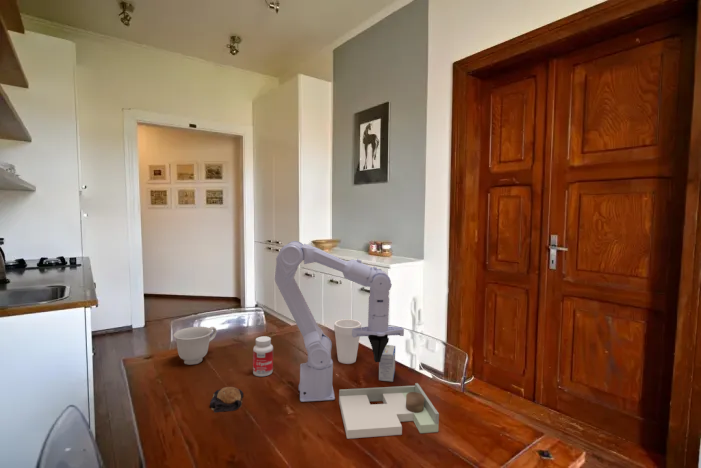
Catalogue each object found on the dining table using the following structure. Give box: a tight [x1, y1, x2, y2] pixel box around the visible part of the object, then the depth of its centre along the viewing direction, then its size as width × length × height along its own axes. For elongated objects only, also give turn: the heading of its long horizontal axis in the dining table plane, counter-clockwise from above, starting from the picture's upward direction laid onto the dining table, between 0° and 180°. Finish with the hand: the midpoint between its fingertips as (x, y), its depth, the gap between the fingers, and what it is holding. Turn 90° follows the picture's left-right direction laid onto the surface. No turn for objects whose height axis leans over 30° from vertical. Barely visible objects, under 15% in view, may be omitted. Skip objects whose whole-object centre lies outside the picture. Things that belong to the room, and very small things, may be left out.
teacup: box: [173, 326, 217, 366], centre depth 121 cm, size 12×15×10 cm
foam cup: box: [333, 318, 362, 365], centre depth 124 cm, size 10×9×13 cm
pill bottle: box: [252, 335, 274, 377], centre depth 113 cm, size 6×6×11 cm
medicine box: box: [378, 344, 396, 383], centre depth 113 cm, size 8×4×9 cm, turn 168°
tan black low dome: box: [209, 386, 244, 413], centre depth 96 cm, size 11×8×4 cm
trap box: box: [338, 382, 440, 439], centre depth 91 cm, size 22×16×4 cm
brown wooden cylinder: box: [406, 392, 424, 413], centre depth 91 cm, size 4×4×3 cm
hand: (377, 360), depth 101 cm, fingers closed
